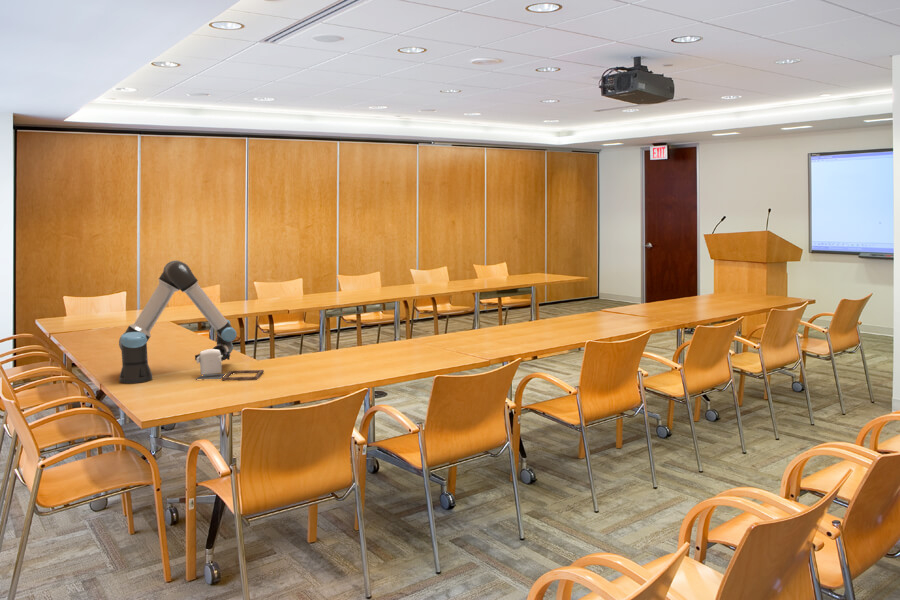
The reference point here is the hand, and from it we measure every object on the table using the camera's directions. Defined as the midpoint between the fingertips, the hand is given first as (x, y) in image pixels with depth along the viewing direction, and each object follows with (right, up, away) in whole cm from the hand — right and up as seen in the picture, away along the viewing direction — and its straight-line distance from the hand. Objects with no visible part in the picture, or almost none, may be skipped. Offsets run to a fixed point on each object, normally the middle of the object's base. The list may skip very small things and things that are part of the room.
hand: (208, 360), depth 364 cm
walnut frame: (+16, -9, +6) cm, 19 cm away
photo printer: (0, -7, +5) cm, 9 cm away
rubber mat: (0, -9, +5) cm, 10 cm away
